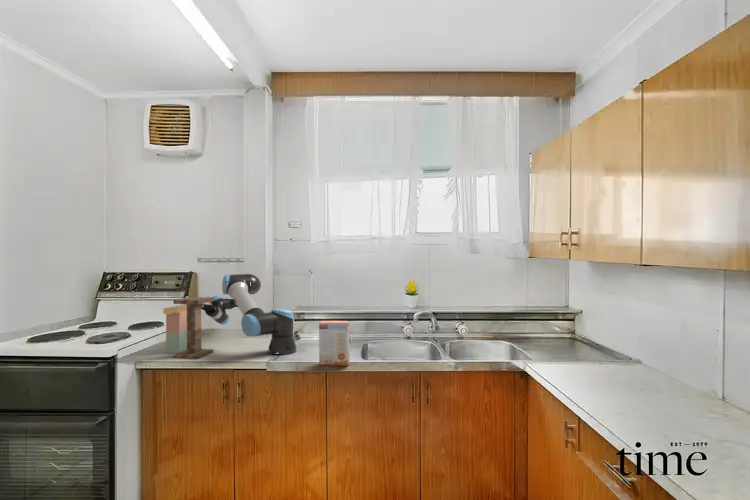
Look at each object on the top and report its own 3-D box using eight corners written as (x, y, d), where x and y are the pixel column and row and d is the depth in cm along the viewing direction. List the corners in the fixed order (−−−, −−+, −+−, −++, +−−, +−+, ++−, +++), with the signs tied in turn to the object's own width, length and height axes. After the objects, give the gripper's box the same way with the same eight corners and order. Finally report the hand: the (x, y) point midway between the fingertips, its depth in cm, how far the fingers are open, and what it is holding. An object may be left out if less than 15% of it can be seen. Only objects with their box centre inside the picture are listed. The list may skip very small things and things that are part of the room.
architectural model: (349, 343, 237) (349, 331, 237) (339, 342, 239) (339, 330, 239) (351, 342, 240) (351, 330, 240) (341, 341, 242) (341, 329, 243)
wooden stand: (213, 352, 215) (213, 297, 215) (197, 358, 201) (198, 300, 202) (190, 351, 217) (190, 297, 218) (173, 357, 203) (173, 300, 204)
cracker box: (349, 363, 193) (349, 320, 193) (347, 366, 187) (347, 322, 187) (321, 362, 194) (321, 320, 195) (318, 365, 188) (318, 322, 188)
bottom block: (190, 348, 223) (190, 329, 223) (179, 353, 213) (179, 333, 213) (178, 348, 224) (178, 329, 224) (166, 352, 214) (166, 332, 214)
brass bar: (195, 308, 230) (195, 303, 230) (170, 314, 208) (170, 308, 209) (188, 308, 231) (189, 303, 231) (163, 314, 209) (163, 308, 209)
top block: (190, 329, 223) (190, 310, 223) (179, 333, 213) (179, 312, 213) (178, 329, 224) (178, 309, 224) (166, 332, 214) (166, 312, 214)
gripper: (230, 317, 249) (213, 304, 231) (194, 316, 253) (175, 303, 235) (233, 306, 253) (217, 292, 235) (197, 305, 257) (179, 292, 239)
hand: (196, 298), depth 235 cm, fingers open, 13 cm apart
